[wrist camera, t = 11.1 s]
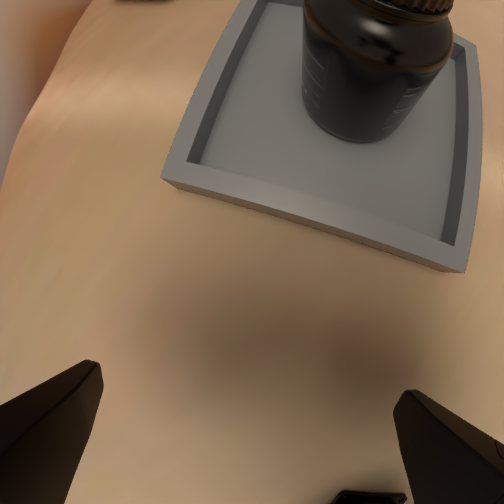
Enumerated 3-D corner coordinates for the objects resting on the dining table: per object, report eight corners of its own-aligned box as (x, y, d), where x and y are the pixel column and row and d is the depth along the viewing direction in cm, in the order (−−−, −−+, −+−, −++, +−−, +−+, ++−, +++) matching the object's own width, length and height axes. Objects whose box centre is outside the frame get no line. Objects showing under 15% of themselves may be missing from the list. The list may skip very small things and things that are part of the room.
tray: (462, 62, 16) (475, 45, 14) (442, 271, 17) (464, 273, 14) (258, -2, 18) (255, -24, 16) (177, 188, 19) (159, 177, 16)
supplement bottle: (385, 59, 16) (437, -66, 5) (412, 143, 16) (522, 35, 4) (290, 61, 17) (285, -88, 5) (309, 149, 17) (336, -6, 5)
